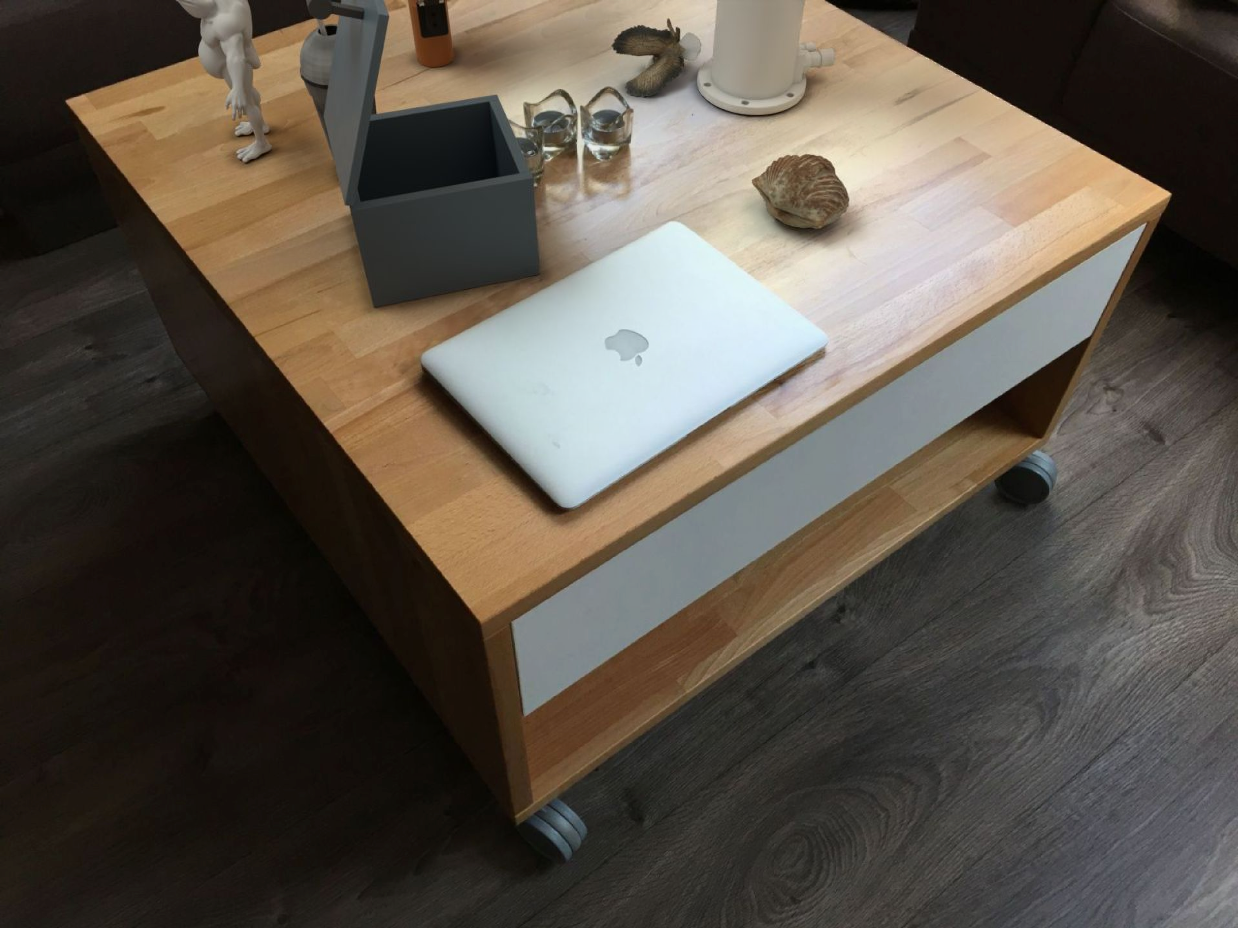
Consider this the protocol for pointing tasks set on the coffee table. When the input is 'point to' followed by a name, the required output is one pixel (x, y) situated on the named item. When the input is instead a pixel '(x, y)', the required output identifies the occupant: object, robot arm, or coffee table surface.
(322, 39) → the beverage cup
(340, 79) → the lid
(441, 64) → the spice bottle
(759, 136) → the coffee table surface
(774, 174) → the seashell
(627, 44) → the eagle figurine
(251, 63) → the figurine
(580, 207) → the coffee table surface
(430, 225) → the chest
